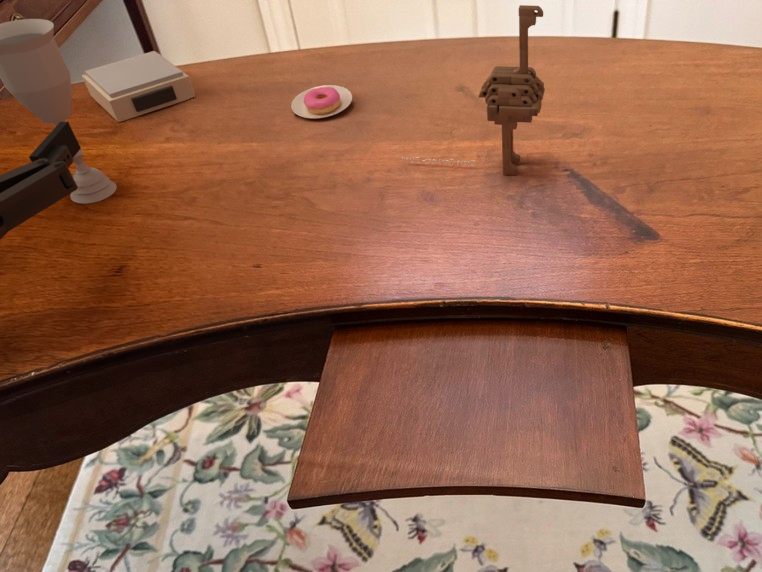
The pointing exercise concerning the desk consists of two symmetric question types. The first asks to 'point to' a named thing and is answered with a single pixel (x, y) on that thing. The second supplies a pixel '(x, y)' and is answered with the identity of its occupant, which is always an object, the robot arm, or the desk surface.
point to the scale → (138, 85)
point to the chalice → (46, 90)
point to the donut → (321, 101)
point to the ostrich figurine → (510, 95)
